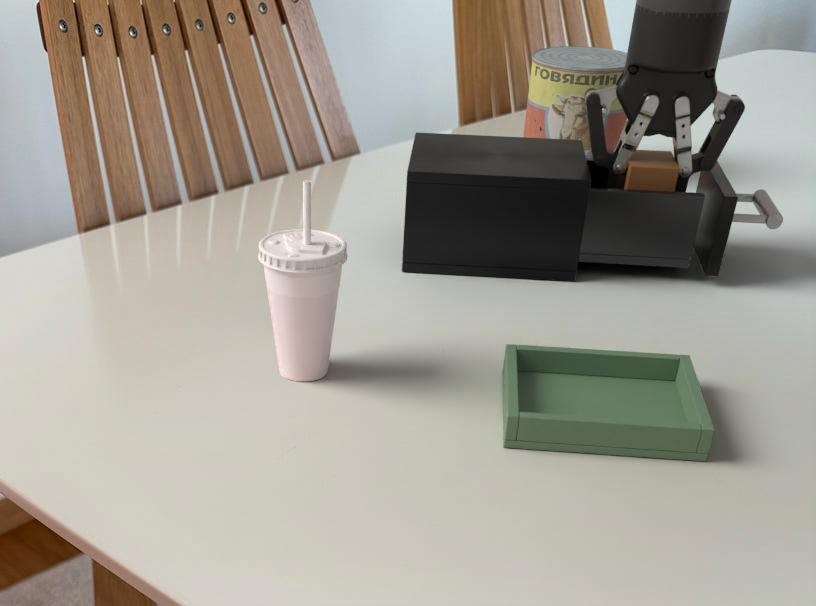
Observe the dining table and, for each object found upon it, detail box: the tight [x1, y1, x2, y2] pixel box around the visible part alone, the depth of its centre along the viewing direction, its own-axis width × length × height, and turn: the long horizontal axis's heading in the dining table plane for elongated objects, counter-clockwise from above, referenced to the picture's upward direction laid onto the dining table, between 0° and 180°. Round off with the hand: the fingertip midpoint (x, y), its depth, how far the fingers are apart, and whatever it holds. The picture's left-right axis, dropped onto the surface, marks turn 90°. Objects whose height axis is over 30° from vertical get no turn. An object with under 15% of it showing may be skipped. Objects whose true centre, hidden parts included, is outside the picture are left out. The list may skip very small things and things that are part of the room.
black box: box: [401, 132, 591, 282], centre depth 97 cm, size 16×13×9 cm
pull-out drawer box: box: [578, 158, 784, 278], centre depth 96 cm, size 20×12×7 cm, turn 83°
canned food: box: [522, 45, 627, 158], centre depth 116 cm, size 11×11×12 cm
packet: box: [624, 149, 679, 192], centre depth 96 cm, size 4×6×7 cm
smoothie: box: [257, 179, 348, 382], centre depth 76 cm, size 6×6×14 cm
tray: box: [502, 343, 715, 462], centre depth 74 cm, size 14×12×2 cm
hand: (641, 214), depth 96 cm, fingers closed on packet, 4 cm apart
